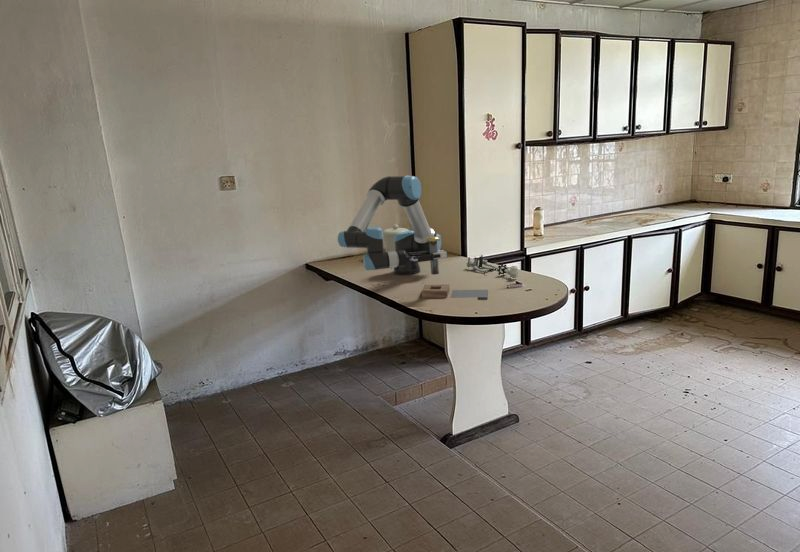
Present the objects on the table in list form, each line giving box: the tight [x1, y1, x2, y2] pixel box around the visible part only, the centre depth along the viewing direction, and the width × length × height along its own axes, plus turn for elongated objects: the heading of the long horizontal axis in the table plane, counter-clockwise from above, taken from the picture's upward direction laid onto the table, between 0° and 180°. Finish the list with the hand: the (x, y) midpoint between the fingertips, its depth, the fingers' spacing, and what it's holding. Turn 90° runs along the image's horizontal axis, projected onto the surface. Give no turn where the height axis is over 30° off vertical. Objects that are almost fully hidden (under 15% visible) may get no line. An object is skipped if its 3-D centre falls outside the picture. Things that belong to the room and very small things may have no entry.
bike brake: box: [466, 254, 499, 275], centre depth 312 cm, size 14×7×20 cm
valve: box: [496, 263, 519, 278], centre depth 293 cm, size 7×7×12 cm
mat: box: [450, 289, 489, 300], centre depth 265 cm, size 13×17×1 cm
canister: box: [382, 224, 411, 252], centre depth 360 cm, size 18×18×21 cm
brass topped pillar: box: [426, 237, 440, 275], centre depth 264 cm, size 6×6×17 cm
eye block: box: [421, 283, 450, 299], centre depth 268 cm, size 12×12×4 cm
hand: (445, 253), depth 265 cm, fingers closed on brass topped pillar, 3 cm apart
